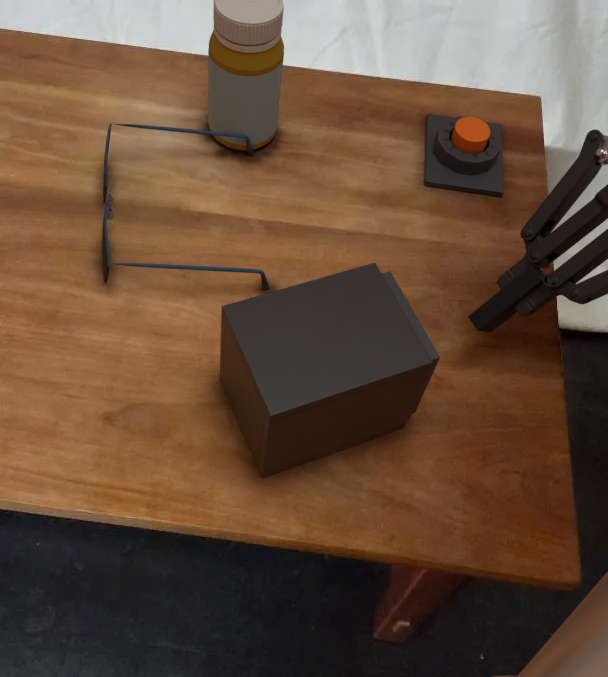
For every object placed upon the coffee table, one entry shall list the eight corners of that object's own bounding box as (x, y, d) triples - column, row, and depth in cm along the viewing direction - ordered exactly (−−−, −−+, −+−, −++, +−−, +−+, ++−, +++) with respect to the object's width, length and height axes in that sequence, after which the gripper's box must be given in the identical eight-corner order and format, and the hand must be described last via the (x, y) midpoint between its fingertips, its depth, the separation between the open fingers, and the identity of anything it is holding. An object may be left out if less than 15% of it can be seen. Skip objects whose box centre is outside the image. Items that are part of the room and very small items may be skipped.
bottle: (260, 162, 83) (270, 36, 70) (197, 140, 83) (195, 11, 71) (286, 119, 86) (300, -8, 74) (225, 98, 87) (228, -32, 75)
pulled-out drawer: (383, 328, 72) (403, 266, 65) (427, 408, 68) (454, 352, 61) (248, 370, 68) (253, 310, 61) (286, 457, 65) (297, 404, 57)
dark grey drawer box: (354, 336, 72) (375, 261, 64) (403, 428, 68) (433, 362, 59) (219, 378, 69) (221, 305, 60) (261, 478, 64) (270, 416, 55)
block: (502, 197, 83) (509, 180, 81) (424, 185, 83) (429, 168, 81) (499, 129, 89) (506, 111, 87) (426, 118, 89) (431, 99, 87)
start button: (485, 156, 83) (490, 144, 82) (450, 151, 83) (455, 138, 82) (485, 132, 85) (490, 119, 84) (451, 127, 85) (455, 114, 84)
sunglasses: (103, 154, 81) (105, 116, 77) (250, 166, 85) (259, 130, 81) (100, 297, 72) (102, 261, 68) (265, 303, 76) (276, 270, 72)
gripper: (801, 201, 59) (538, 389, 69) (684, 79, 64) (455, 270, 74) (794, 178, 53) (507, 388, 63) (665, 44, 58) (417, 258, 68)
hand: (479, 324), depth 69 cm, fingers closed
